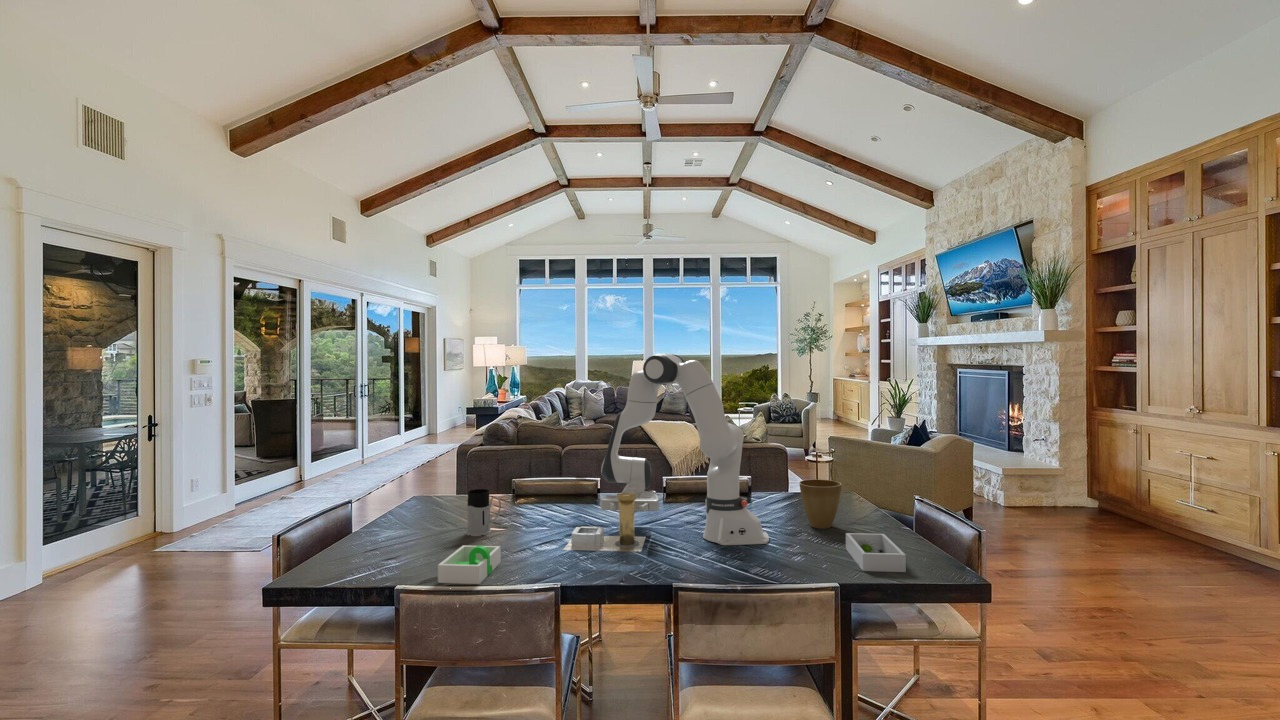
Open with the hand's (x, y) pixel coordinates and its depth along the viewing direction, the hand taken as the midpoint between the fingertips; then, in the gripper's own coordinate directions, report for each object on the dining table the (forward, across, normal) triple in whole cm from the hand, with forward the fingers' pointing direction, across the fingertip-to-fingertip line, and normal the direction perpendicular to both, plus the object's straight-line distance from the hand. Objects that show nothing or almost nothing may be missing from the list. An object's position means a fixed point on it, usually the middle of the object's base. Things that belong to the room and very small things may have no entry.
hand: (627, 508), depth 203 cm
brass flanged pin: (+2, 0, +11) cm, 11 cm away
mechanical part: (+28, -43, +12) cm, 53 cm away
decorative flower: (+10, +77, +12) cm, 79 cm away
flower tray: (+9, +77, +12) cm, 78 cm away
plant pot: (-28, +68, +12) cm, 75 cm away
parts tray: (+28, -43, +12) cm, 53 cm away
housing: (+2, -7, +12) cm, 14 cm away
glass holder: (-11, -53, +13) cm, 55 cm away
